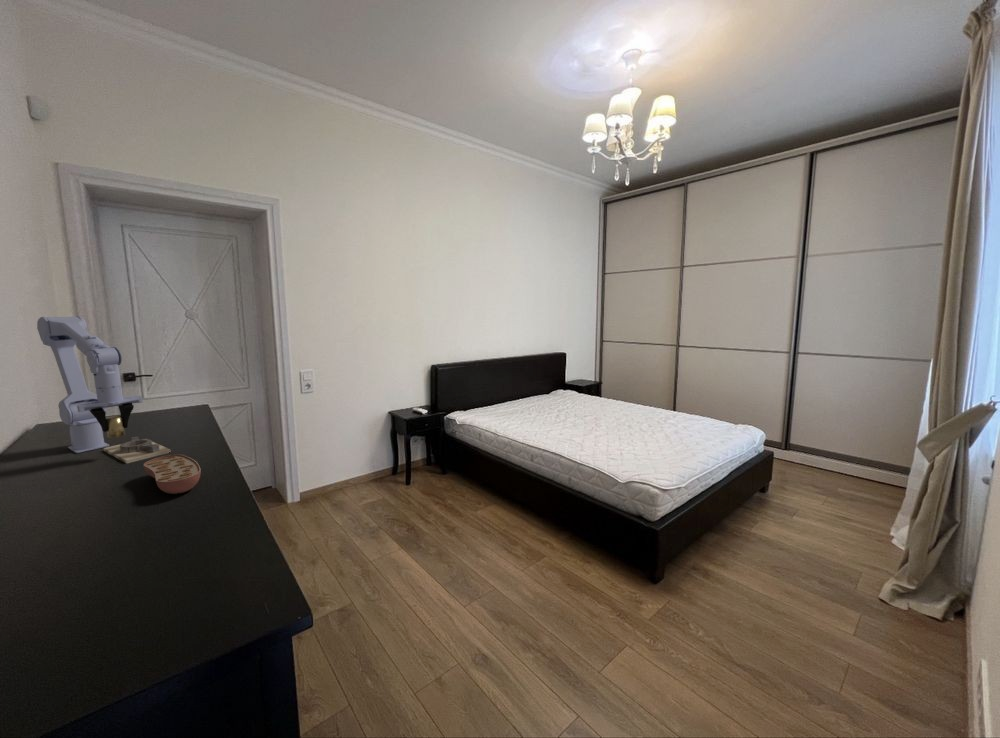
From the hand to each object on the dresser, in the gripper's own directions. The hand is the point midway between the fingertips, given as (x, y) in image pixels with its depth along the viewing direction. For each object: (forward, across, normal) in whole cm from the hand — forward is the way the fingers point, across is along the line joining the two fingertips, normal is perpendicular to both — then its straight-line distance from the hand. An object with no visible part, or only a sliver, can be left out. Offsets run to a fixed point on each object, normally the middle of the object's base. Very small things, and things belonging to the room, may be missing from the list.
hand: (115, 429), depth 125 cm
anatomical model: (+9, +1, -38) cm, 39 cm away
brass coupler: (+2, 0, 0) cm, 2 cm away
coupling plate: (+9, +5, +1) cm, 10 cm away
